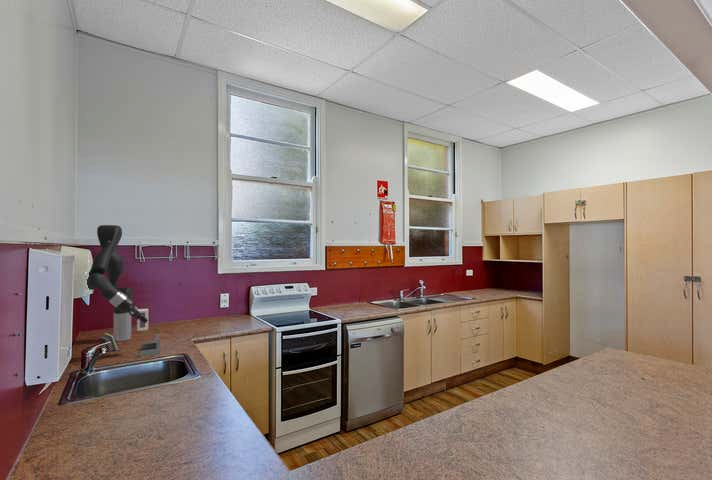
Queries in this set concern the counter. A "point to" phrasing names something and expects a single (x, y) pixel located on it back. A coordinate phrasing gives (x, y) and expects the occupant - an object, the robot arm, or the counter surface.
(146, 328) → the beige grey rectangular block
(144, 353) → the bracket
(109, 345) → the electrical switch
